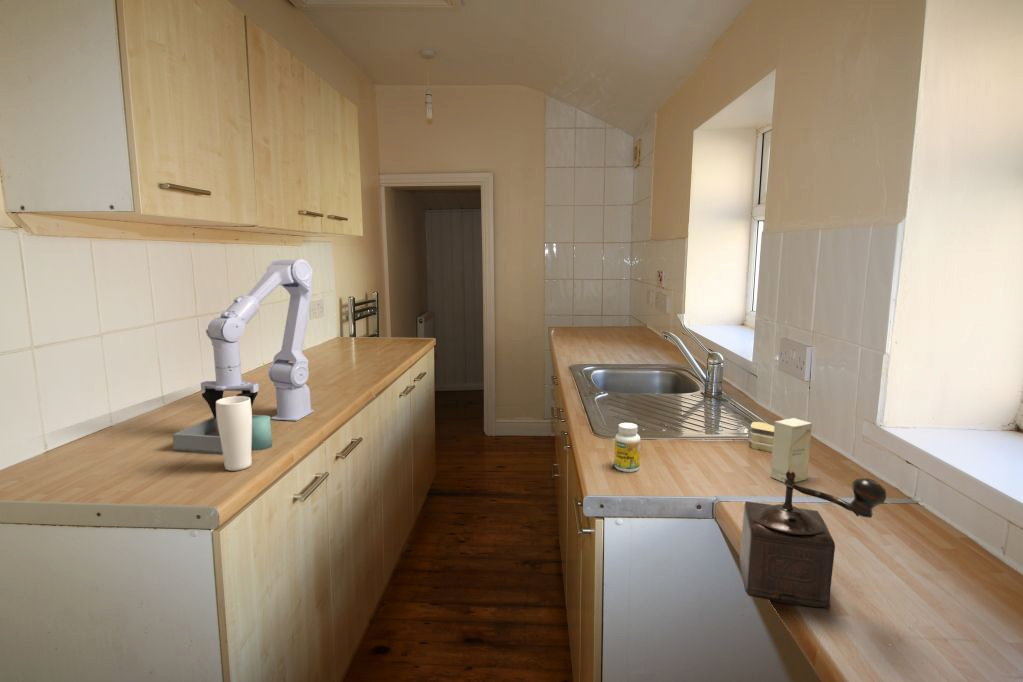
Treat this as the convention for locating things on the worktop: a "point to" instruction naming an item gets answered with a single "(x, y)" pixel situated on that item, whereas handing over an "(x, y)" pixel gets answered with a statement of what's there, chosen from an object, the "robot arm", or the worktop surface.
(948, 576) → the worktop surface
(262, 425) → the teal cylinder
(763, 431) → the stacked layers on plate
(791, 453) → the skincare box
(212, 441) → the tray
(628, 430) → the supplement bottle
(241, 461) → the drinking glass
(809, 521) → the manual coffee grinder
